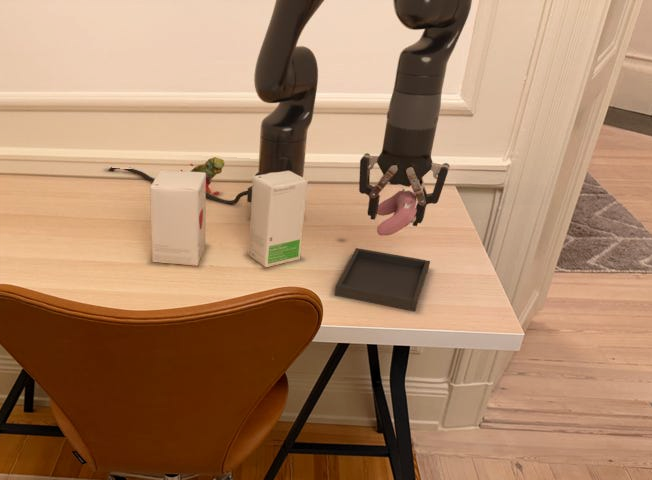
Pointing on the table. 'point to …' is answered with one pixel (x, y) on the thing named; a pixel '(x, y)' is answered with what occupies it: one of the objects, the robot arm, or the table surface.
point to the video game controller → (397, 212)
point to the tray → (383, 279)
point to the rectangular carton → (178, 217)
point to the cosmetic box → (277, 217)
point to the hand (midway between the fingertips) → (394, 220)
